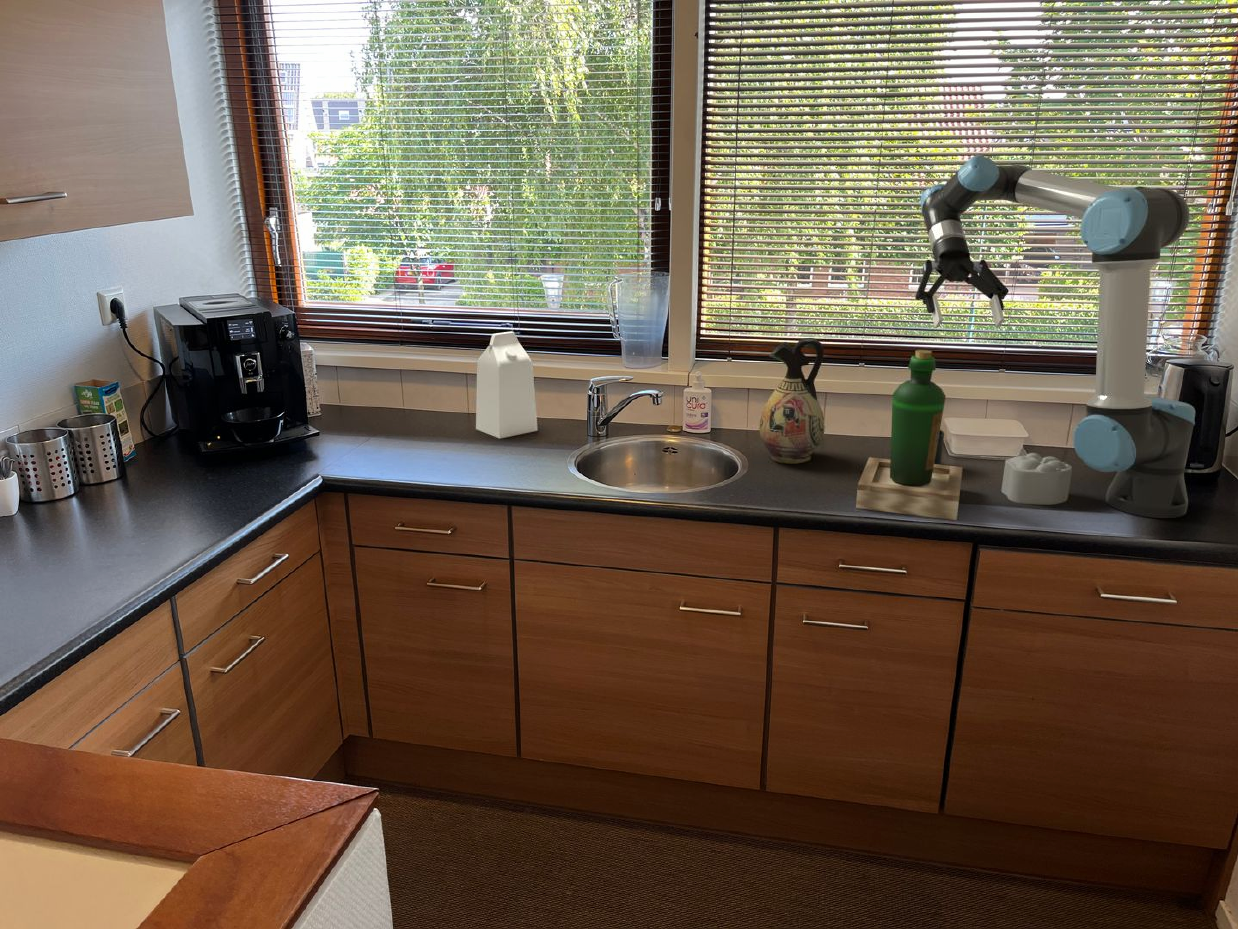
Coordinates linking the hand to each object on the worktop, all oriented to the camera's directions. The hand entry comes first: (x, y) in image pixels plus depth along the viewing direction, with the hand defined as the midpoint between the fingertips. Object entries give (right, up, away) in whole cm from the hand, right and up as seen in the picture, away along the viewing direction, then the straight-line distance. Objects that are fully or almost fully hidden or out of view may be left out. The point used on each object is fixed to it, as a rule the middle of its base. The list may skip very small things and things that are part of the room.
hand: (969, 323), depth 208 cm
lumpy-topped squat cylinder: (+15, -37, +1) cm, 40 cm away
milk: (-106, -21, +50) cm, 119 cm away
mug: (-5, -31, +21) cm, 38 cm away
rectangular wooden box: (-13, -38, 0) cm, 40 cm away
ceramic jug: (-33, -29, +26) cm, 51 cm away
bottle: (-13, -34, -2) cm, 37 cm away
